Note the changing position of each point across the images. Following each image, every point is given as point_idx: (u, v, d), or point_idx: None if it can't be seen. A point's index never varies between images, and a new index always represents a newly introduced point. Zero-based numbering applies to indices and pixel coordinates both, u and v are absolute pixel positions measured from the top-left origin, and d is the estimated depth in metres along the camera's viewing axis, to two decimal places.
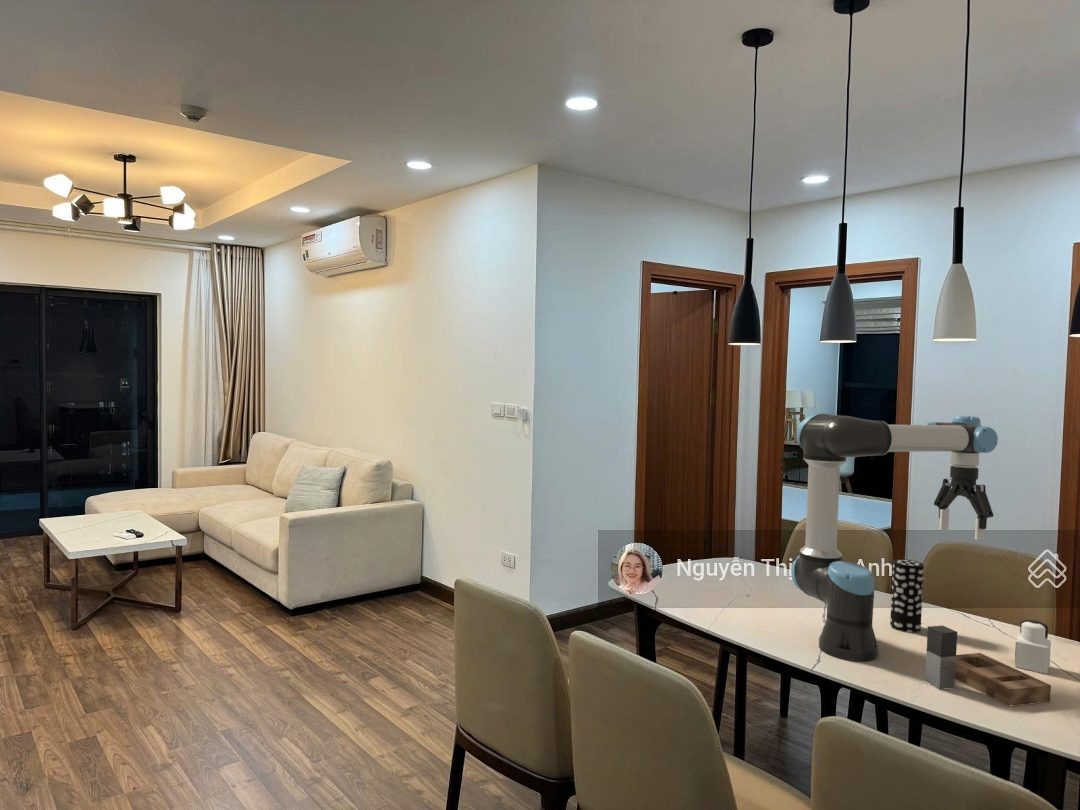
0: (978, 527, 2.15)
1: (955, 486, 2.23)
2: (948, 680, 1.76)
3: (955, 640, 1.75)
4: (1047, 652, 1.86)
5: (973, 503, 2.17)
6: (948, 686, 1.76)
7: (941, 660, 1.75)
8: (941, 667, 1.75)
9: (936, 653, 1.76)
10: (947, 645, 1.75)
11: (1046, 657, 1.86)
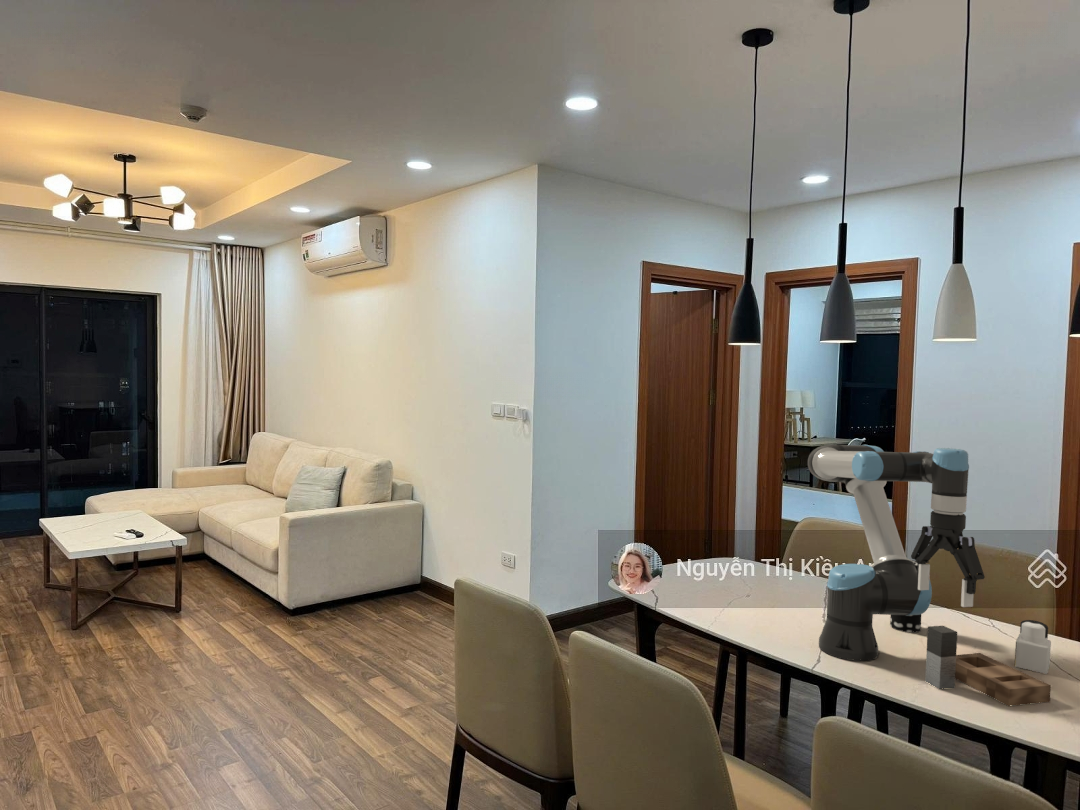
0: (965, 591, 1.69)
1: (937, 537, 1.77)
2: (948, 680, 1.76)
3: (955, 640, 1.75)
4: (1047, 652, 1.86)
5: (959, 560, 1.71)
6: (948, 686, 1.76)
7: (941, 660, 1.75)
8: (941, 667, 1.75)
9: (936, 653, 1.76)
10: (947, 645, 1.75)
11: (1046, 657, 1.86)
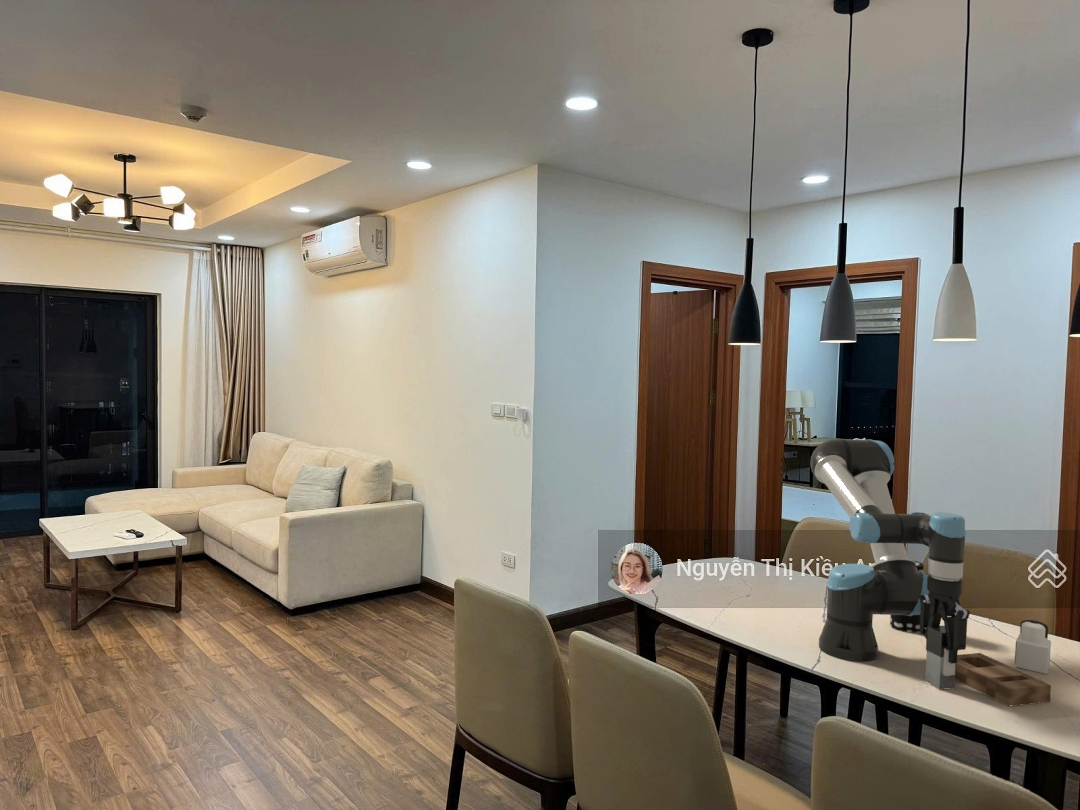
0: (947, 660, 1.74)
1: (933, 601, 1.77)
2: (948, 680, 1.76)
3: None
4: (1047, 652, 1.86)
5: (947, 629, 1.74)
6: (948, 686, 1.76)
7: (941, 660, 1.75)
8: (941, 666, 1.75)
9: (936, 653, 1.76)
10: None
11: (1046, 657, 1.86)
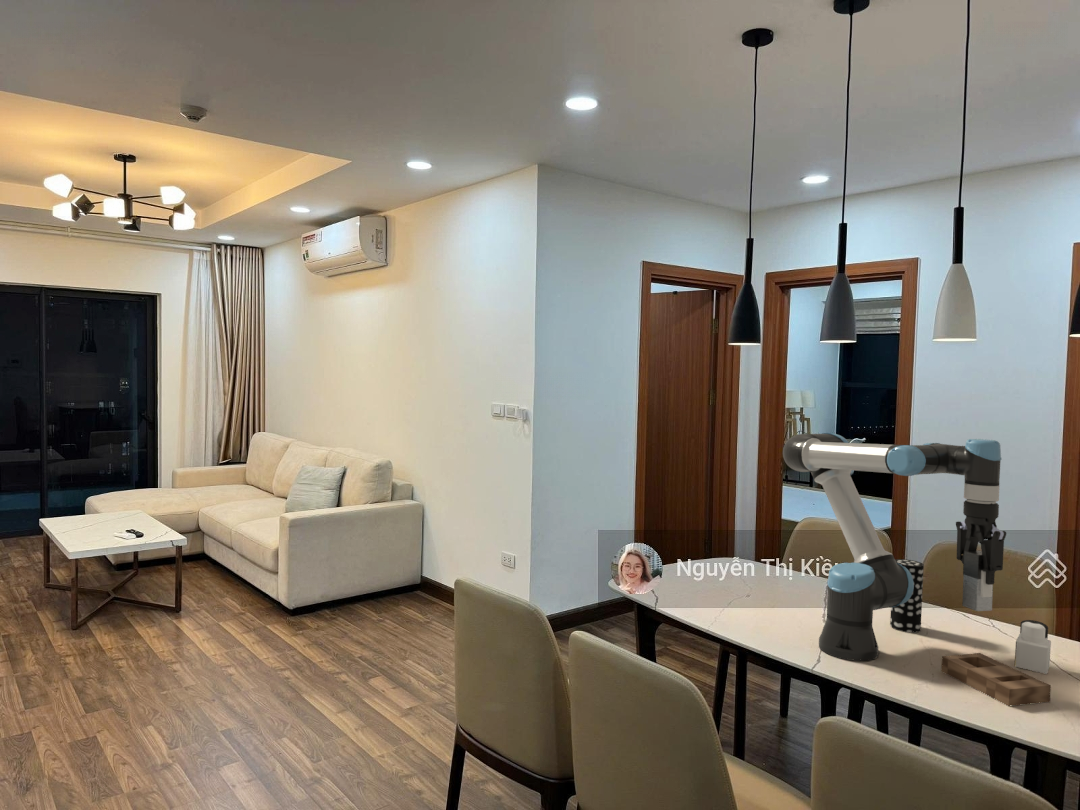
0: (984, 582, 1.78)
1: (970, 525, 1.81)
2: (986, 602, 1.79)
3: None
4: (1047, 652, 1.86)
5: (984, 551, 1.77)
6: (985, 608, 1.79)
7: (978, 582, 1.78)
8: (978, 588, 1.78)
9: (973, 576, 1.79)
10: None
11: (1046, 657, 1.86)
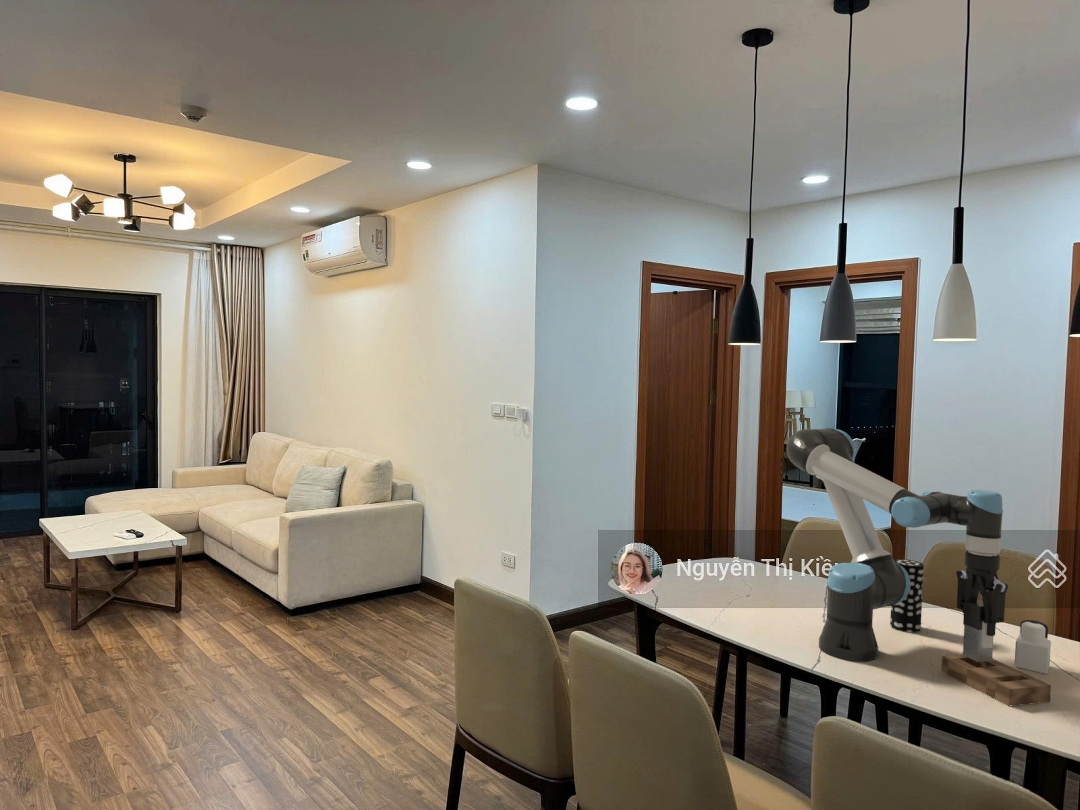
0: (985, 633, 1.79)
1: (971, 576, 1.82)
2: (986, 653, 1.80)
3: None
4: (1047, 652, 1.86)
5: (985, 602, 1.79)
6: (986, 658, 1.80)
7: (980, 633, 1.80)
8: (979, 639, 1.80)
9: (974, 626, 1.81)
10: None
11: (1046, 657, 1.86)
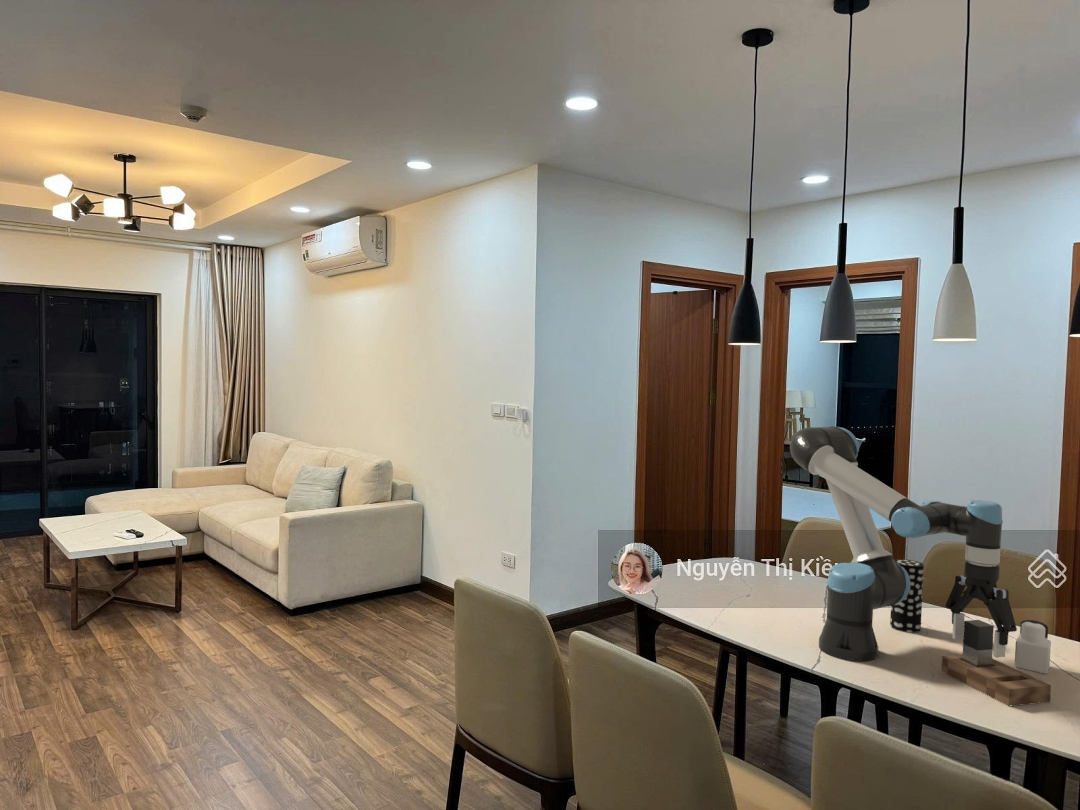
0: (998, 642, 1.76)
1: (971, 587, 1.82)
2: None
3: (991, 634, 1.81)
4: (1047, 652, 1.86)
5: (992, 611, 1.77)
6: None
7: (978, 653, 1.80)
8: (978, 659, 1.80)
9: (973, 646, 1.81)
10: (984, 638, 1.80)
11: (1046, 657, 1.86)
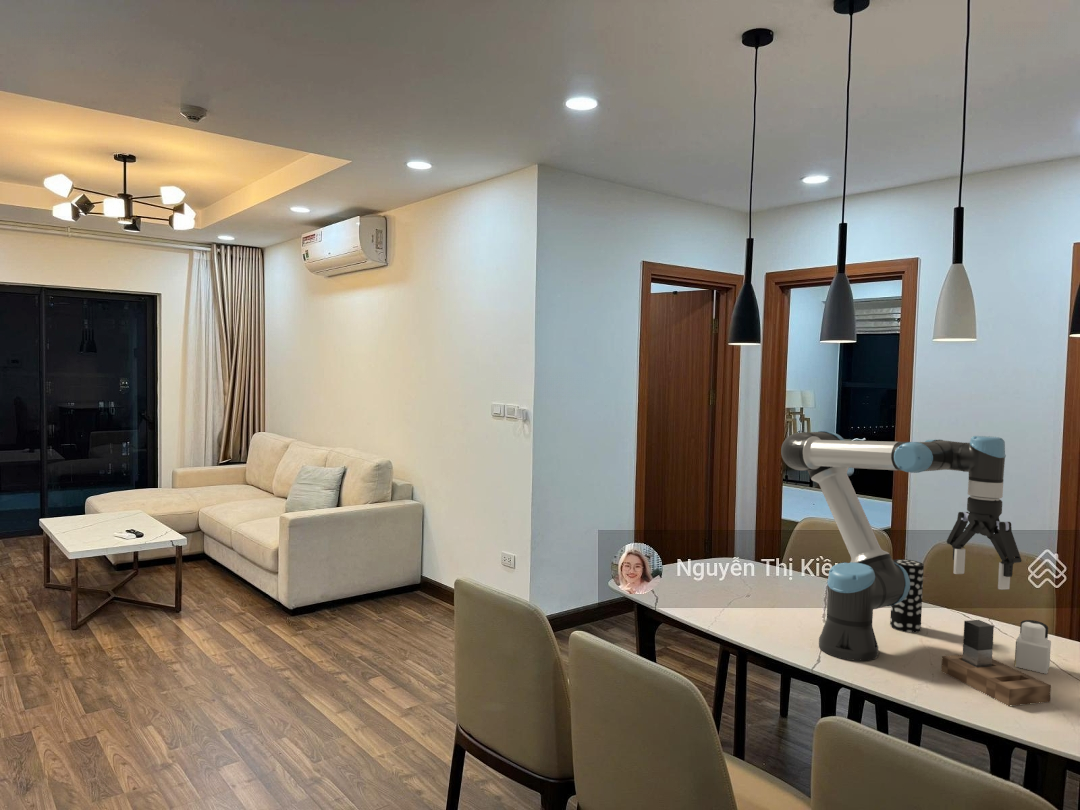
0: (1002, 574, 1.75)
1: (973, 522, 1.82)
2: None
3: (992, 634, 1.81)
4: (1047, 652, 1.86)
5: (996, 544, 1.76)
6: None
7: (978, 653, 1.80)
8: (978, 659, 1.80)
9: (973, 646, 1.81)
10: (984, 638, 1.80)
11: (1046, 657, 1.86)
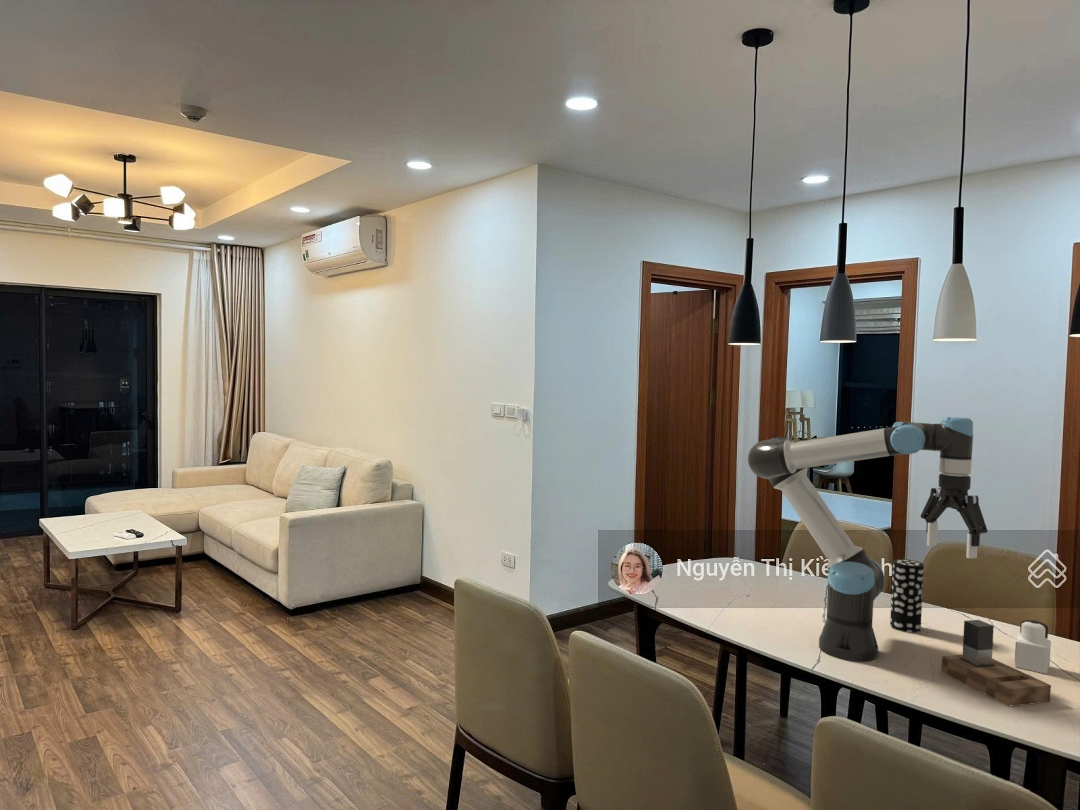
0: (970, 544, 1.89)
1: (944, 497, 1.96)
2: None
3: (991, 634, 1.81)
4: (1047, 652, 1.86)
5: (964, 516, 1.90)
6: None
7: (978, 653, 1.80)
8: (978, 659, 1.80)
9: (973, 646, 1.81)
10: (984, 638, 1.80)
11: (1046, 657, 1.86)
